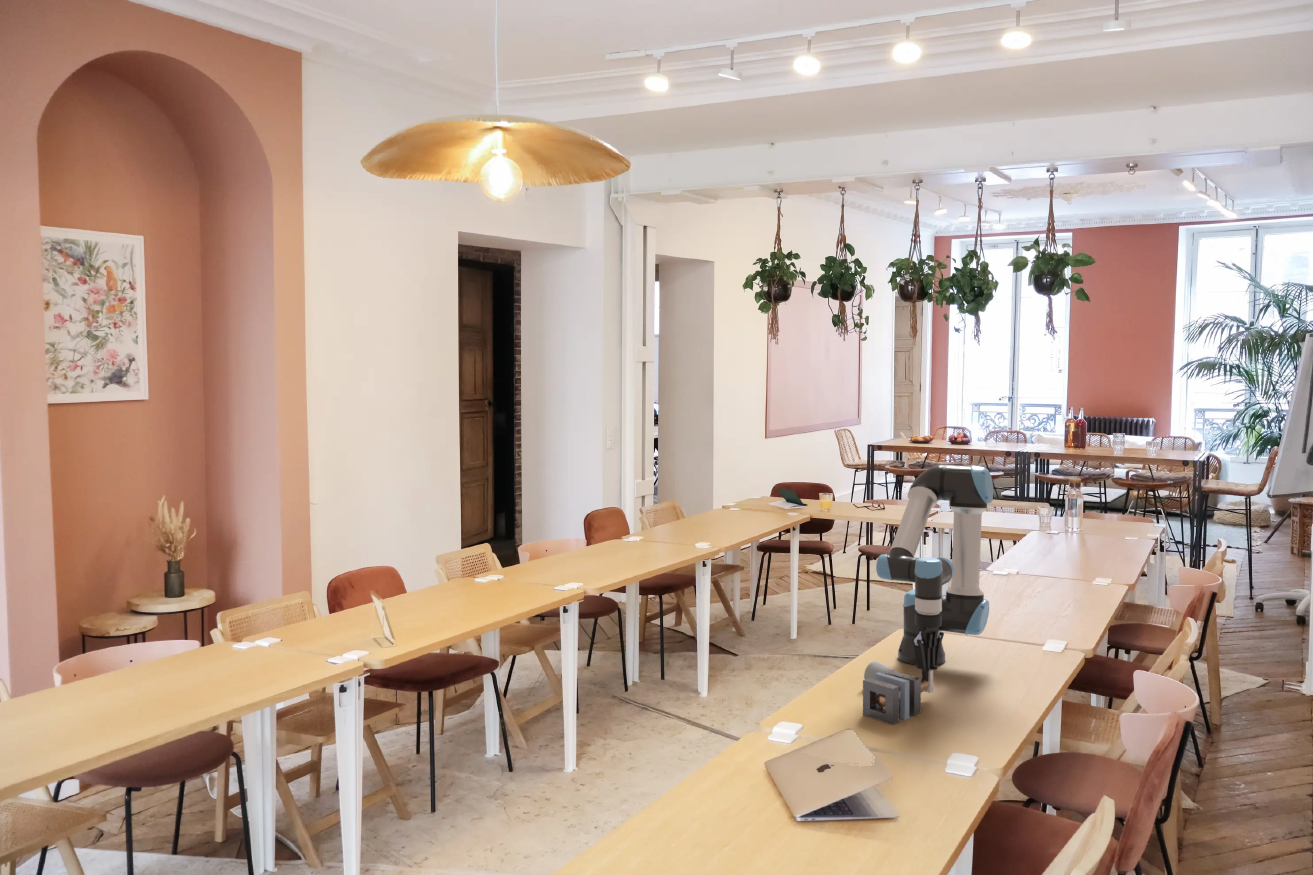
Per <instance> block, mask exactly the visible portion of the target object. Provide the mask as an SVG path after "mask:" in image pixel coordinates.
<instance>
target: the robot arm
mask: <svg viewBox="0 0 1313 875" xmlns="http://www.w3.org/2000/svg"><path fill="white" fill-rule="evenodd" d="M907 498H908V501H907V504H906V507H905V509H904V512H903V515H902V516H901V520H900V523H899V525H898V528H897V531H896V533H895V536H894V539H893V541H892V544H891V547H890V548H889V549H890V550H889V552H888V554H887V553H885V554H883V553H882V554H880V555H879V556H878V557H877V560H876V564H875V565H876V566H875V567H876V568H875V569H876V573H877V576H878V577H879V578H880V579H883V580H888V581H895V582H897V581H898V582H908V583H913V584H914V589H912V590H909V591H907V592H906V593H904V597H903V604H902V605H903V606H902V607H903V636H902V638H901V641H900V644H899V648H898V650H897V651H898V652H897V659H898V660H899V661H901V662H904V663H906V664H911V665H915V666H916V668H917V670H921V679H925V680H926V681H927V682H928V685H929V687H928V690H926V691H924V693H928V694H932V693H934V675H935V674H934V673H935V672H934V670H935V671H936V670H938V666H939V665H942V664H943V663H945V662H946V652H945V650H944V646H943V638H944V636H945V633H944V632H948V633H956V634H962V635H965V636H968V635H971V636H979V635H981V634H982V633H983V632H984V630H985V628H986V625H987V623H988V619H989V615H990V614H989V613H990V601H989V600H987V599H985V595H984V594H985V593H984V592H983V590H982V589H981V588H980V569H981V544H982V542H981V541H982V518H983V517H982V515H983V513H984V512H985V511H986V510H987V509H988V505H989V504H991V503H993V500H994V483H993V478H992V475H991V472H990V471H989V470H988V468H986V467H984V466H978V465H956V464H955V465H954V464H950V465H949V464H938V465H933V466H931V467H928V468H927V469H925V470H924V471H923V472H921V474H919V475H918V476H917V477H916V478H915V480H914V481H913V482H912V484H911V485H910V487H909V490H908V492H907ZM938 501H945V502H946V501H948V502H949V505H948V506H949V509H951V510H952V511H953V523H952V524H953V527H952V528H953V532H952V555H951V556H952V558H951V560H952V561H951V560H950V559H948V558H946V557H942V556H941V557H930V556H929V557H927V556H926V557H915V556H916V553H917V550H918V547H919V544H920V542H921V540H922V536H923V534H924V530H925V528H926V525H927V523H928V520H929V516H930V515H931V511H932V508H934V507H935V506H936V505H937V504H938ZM950 581H951V583H950V586H949V587H948V588H947V589H946V590H945V594H943V585H946V584H947V583H949V582H950Z"/></svg>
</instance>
